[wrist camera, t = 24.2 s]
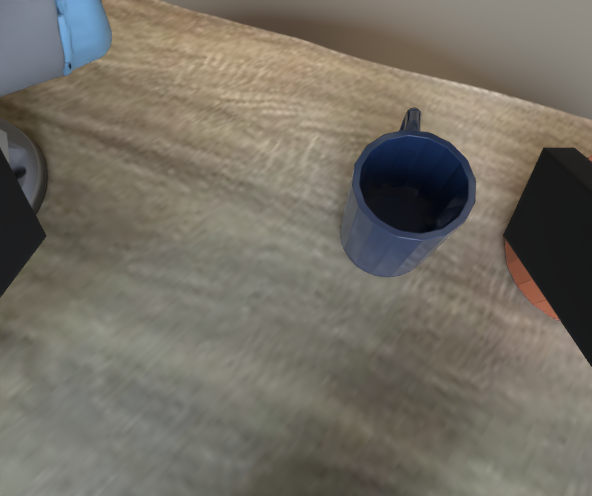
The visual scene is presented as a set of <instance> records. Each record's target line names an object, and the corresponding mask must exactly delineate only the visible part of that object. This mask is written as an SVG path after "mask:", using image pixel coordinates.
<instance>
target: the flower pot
mask: <svg viewBox="0 0 592 496" xmlns="http://www.w3.org/2000/svg"><path fill="white" fill-rule="evenodd" d="M588 159H589V160H590V161H591V162H592V155H591V156H590V157H588ZM505 251H506V260H507V266H508V268H509V270H510V272H511V274H512V277H513V279H514V281H515V283H516V285H517V287H518V288H519V289H520V290H521V291H522V292H523V294H524V295H525V296H526V297H527V298H528V300H529V301H530V302H531V303H532V304H533V305H534V306H536V307H537V308H539V309H540V310H542V311H543V312H544V313H546V314H547V315H549V316H550V317H552V318H553V319H556V320H559V321H560V319H559V318H558V316H557V315H556V313H555V312H554V310H553V309H552V307H551V306H550V304H549V303H548V301H547V300H546V298H545V297H544V295H543V294H542V292H541V291H540V289H539V288H538V286H537V285H536V284H535V282H534V281H533V279H532V278H531V276H530V275H529V273H528V272H527V270H526V269H525V267H524V266H523V264H522V263H521V261H520V260H519V258H518V257H517V255H516V254H515V252H514V251H513V249H512V248H511V246H510V245H509V243H508V242H507V240H506V241H505Z"/></svg>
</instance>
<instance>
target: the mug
mask: <svg viewBox="0 0 592 496" xmlns="http://www.w3.org/2000/svg"><path fill="white" fill-rule="evenodd" d="M420 127H421V111H420V110H419V109H418V108H410V109H409V110H408V111H407V112H406V114H405V117H404V120H403V122H402V125H401V127H400V130H399V131H398V132H393V133H388V134H385V135H383V136H381V137H380V138H378V139H376V140H375V141H373V142H372V143H370V144H369V145H367V146H366V147H365V149H364V150H363V152H362V153H361V155H360V156H359V158H358V159H357V161H356V163H355V165H354V169H353V173H352V177H351V181H350V186H349V190H348V194H347V198H346V202H345V207H344V211H343V215H342V221H341V226H340V239H341V243H342V246H343V249H344V251H345V253H346V254H347V256H348V257H349V259H350V260H351V261H352V262H353V263H354V264H355V265H356V266H357V267H359V268H360V269H362V270H363V271H365V272H367V273H370V274H372V275H376V276H380V277H395V276H400V275H403V274H406V273H408V272H410V271H411V270H413V269H415V268H416V267H417V266H418V265H419V264H421V263H422V262H423V261H424V260H425V259H426V258H427V257H429V256H430V255H431V254H432V253H433V252H434V251H435V250H436V249H437V248H438V247H439V246H440V245H441V244H442V243H443V242H444V241H445V240H446V239H447V238H448V237H449V236H450V235H451V234H452V233H453V232H455V231H456V230H457V229H458V228H459V227H460V226H461V225H462V224H463V223H464V222H465V221H466V219H467V217H468V215H469V213H470V211H471V209H472V207H473V205H474V204H475V193H476V179H475V177H474V175H473V172H472V170H471V167H470V165H469V163H468V160H467V159H466V158H465V157H464V156H463V155H462V154H461V153H460V152H459V151H458V150H457V149H456V148H455V147H454V146H453V145H452V144H451V143H450V142H448V141H446V140H444V139H442V138H440V137H438V136H436V135H434V134H431V133H429V132H421V131H420Z"/></svg>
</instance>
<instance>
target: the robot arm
mask: <svg viewBox="0 0 592 496" xmlns="http://www.w3.org/2000/svg"><path fill="white" fill-rule="evenodd" d="M111 42H112V31H111V28H110V24H109V21H108V19H107V16H106V13H105V10H104V8H103V5H102V2H101V0H0V97H1V96H4V95H7V94H10V93H13V92H16V91H19V90H22V89H25V88H28V87H31V86H34V85H37V84H40V83H43V82H46V81H49V80H51V79H54V78H57V77H60V76H66V75H69V74H70V73H71V72H72V70H74V69H76V68H79V67H81V66H83V65H85V64H88V63H90V62H92V61H94V60H97V59H99V58H101V57H103V56H104V55H105V54H106V52H107V51H108V50H109V48H110V46H111ZM46 185H47V169H46V163H45V160H44V157H43V155H42V153H41V151H40V149H39V148H38V146H37V145H36V144H35V143H34V142H33V141H32V140H31V139H30V138H29V137H28V136H27V135H26V134H25V133H23V132H22V131H21V130H20V129H18V128H17V127H16V126H14V125H12V124H11V123H9V122H7V121H6V120H4V119H2V118H0V297H1V296H2V295H3V293H4V292H5V291H6V289H7V288H8V287H9V285H10V284H11V283H12V281H13V280H14V279H15V277H16V276H17V275H18V273H19V272H20V271H21V269H22V268H23V267H24V265H25V264H26V263H27V261H28V260H29V259H30V257H31V256H32V255H33V253H34V252H35V251H36V249H37V248H38V247H39V245H40V244H41V243H42V241H43V240H44V239H45V237H46V234H45V232H44V230H43V228H42V226H41V225H40V223H39V221H38V219H37V217H36V213H37V211H38V209H39V207H40V205H41V203H42V200H43V198H44V194H45V191H46ZM503 236H504V237H505V239H506V240H507V242H508V243H509V245H510V246H511V248H512V249H513V251H514V252H515V254H516V255H517V257H518V258H519V260H520V261H521V263H522V264H523V266H524V267H525V269H526V270H527V272H528V273H529V275H530V276H531V278H532V279H533V281H534V282H535V284H536V285H537V286H538V288H539V289H540V291H541V292H542V294H543V295H544V297H545V298H546V300H547V301H548V303H549V304H550V306H551V307H552V309H553V310H554V312H555V313H556V315H557V316H558V318H559V319H560V321H561V322H562V324H563V325H564V327H565V328H566V330H567V331H568V333H569V334H570V336H571V337H572V338H573V340H574V341H575V343H576V344H577V346H578V347H579V349H580V350H581V352H582V353H583V355H584V356H585V358H586V359H587V361H588V362H589V364H590V365H591V367H592V162H591V161H590V160H589V159H588V158H586V157H585V156H584V155H583V154H582V153H580V152H579V151H578V150H577V149H575V148H543V150H542V152H541V154H540V157H539V159H538V161H537V163H536V165H535V167H534V170H533V172H532V174H531V176H530V178H529V180H528V183H527V185H526V187H525V189H524V191H523V193H522V196H521V198H520V200H519V202H518V204H517V207H516V209H515V211H514V213H513V215H512V217H511V220H510V222H509V224H508V226H507V228H506V230H505V233H504V235H503Z"/></svg>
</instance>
